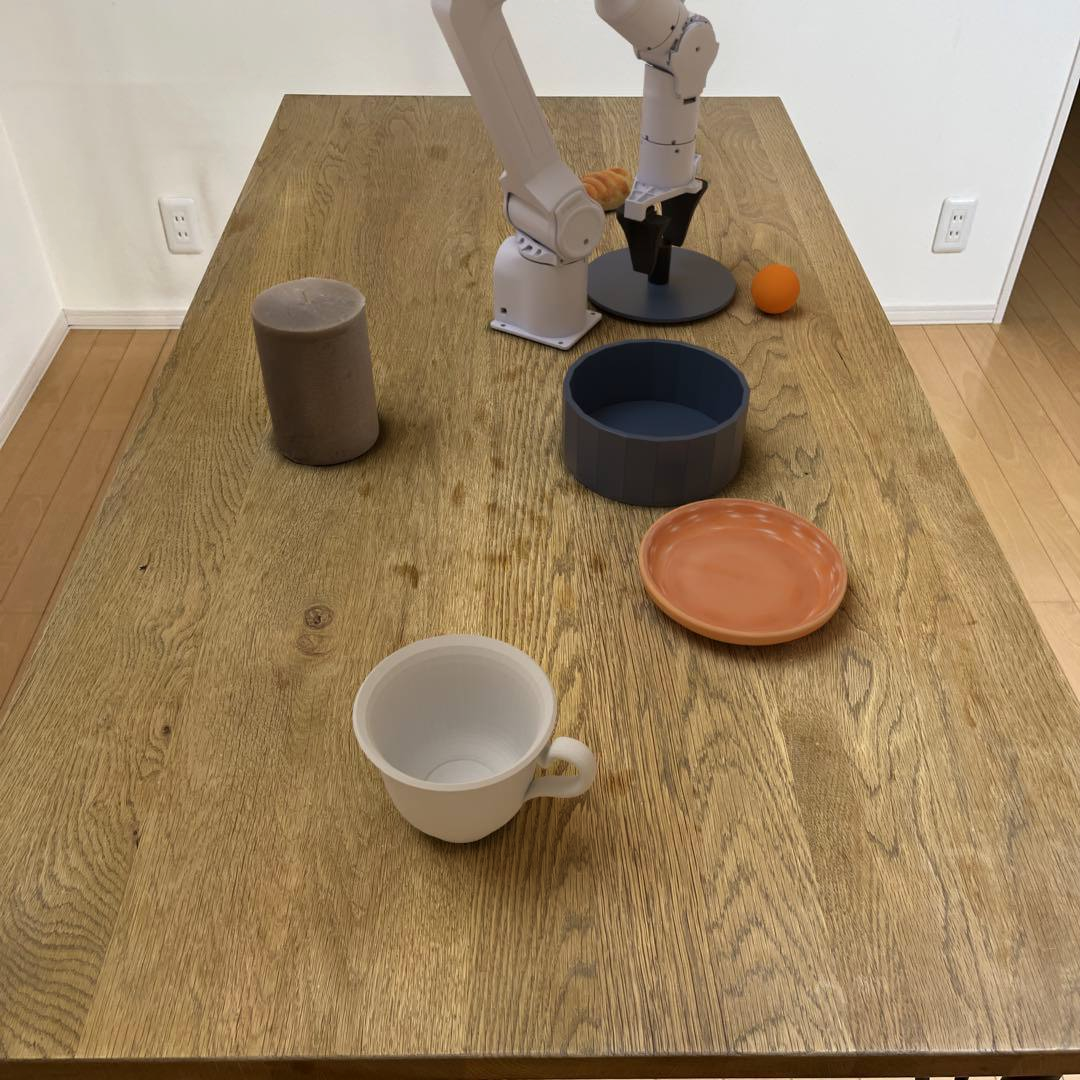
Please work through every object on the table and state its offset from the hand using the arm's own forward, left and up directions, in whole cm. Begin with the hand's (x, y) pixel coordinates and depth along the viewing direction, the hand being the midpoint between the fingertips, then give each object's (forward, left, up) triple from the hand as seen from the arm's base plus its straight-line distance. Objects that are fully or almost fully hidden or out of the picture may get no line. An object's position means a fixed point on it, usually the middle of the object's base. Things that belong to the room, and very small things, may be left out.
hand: (658, 257), depth 122 cm
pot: (+13, -28, -4) cm, 31 cm away
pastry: (-16, +17, -4) cm, 24 cm away
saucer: (+27, -41, -4) cm, 49 cm away
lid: (0, 0, -3) cm, 3 cm away
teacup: (+21, -69, -4) cm, 72 cm away
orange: (+13, +2, -1) cm, 13 cm away
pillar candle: (-14, -41, -4) cm, 43 cm away
